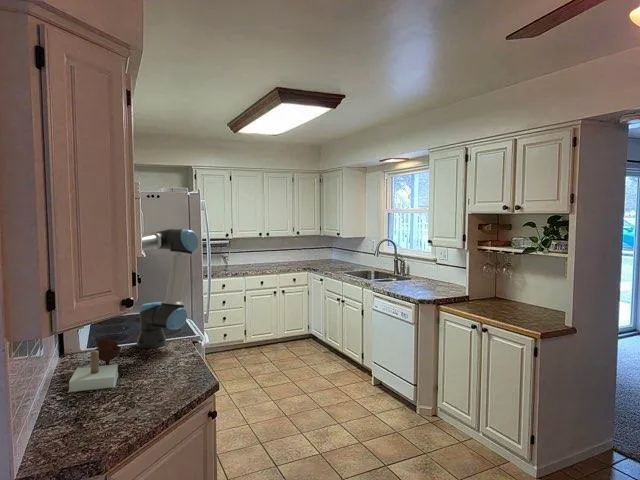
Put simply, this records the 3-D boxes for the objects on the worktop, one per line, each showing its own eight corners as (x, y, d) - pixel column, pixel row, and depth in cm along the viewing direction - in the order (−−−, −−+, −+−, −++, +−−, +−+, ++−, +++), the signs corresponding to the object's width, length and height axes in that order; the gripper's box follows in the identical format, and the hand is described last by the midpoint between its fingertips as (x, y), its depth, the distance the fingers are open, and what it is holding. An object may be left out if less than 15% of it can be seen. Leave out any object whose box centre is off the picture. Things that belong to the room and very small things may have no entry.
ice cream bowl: (110, 374, 190) (110, 341, 189) (88, 372, 192) (88, 339, 191) (125, 366, 200) (125, 334, 199) (104, 364, 202) (104, 333, 202)
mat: (119, 373, 190) (119, 372, 190) (115, 388, 174) (115, 386, 174) (75, 378, 184) (75, 376, 184) (67, 393, 169) (67, 392, 169)
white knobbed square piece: (117, 373, 190) (117, 344, 189) (113, 386, 175) (113, 355, 174) (76, 377, 184) (76, 347, 184) (69, 391, 169) (68, 359, 169)
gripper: (74, 262, 191) (60, 310, 185) (114, 266, 181) (101, 316, 175) (88, 266, 197) (75, 312, 192) (128, 270, 187) (115, 318, 182)
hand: (87, 314), depth 184 cm, fingers open, 13 cm apart
